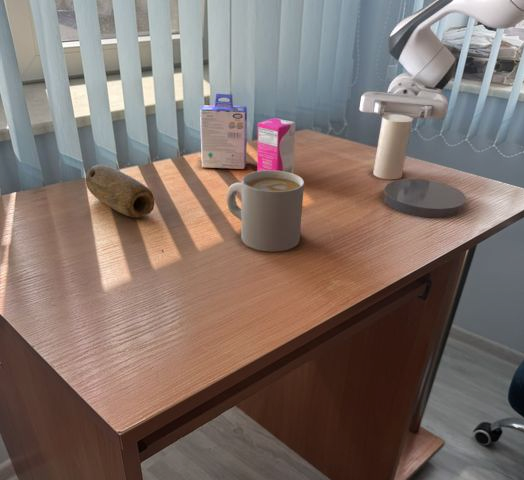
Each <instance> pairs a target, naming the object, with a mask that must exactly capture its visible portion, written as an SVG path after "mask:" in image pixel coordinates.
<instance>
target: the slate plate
mask: <svg viewBox="0 0 524 480" xmlns="http://www.w3.org/2000/svg"><path fill="white" fill-rule="evenodd" d="M382 199H383V201H384V203H385V204H386V205H387V206H389V207H390V208H392V209H394V210H395V211H398V212H401V213H402V214H403V213H404V214H406V215H410V216H415V217H422V218H430V219H431V218H433V219H442V218H443V219H444V218H450V217H454V216H457V215H459V214H461V213H462V212H463V211H464V209H465V206H466V203H467V196H466V195H465V193H463V191H462V190H460V189H458V188H456V187H454V186H452V185H449V184H446V183H443V182H440V181H434V180H430V179H429V180H428V179H423V178H422V179H419V178H404V179H396V180H393V181H390V182H389V183H387V184H386V185H385V186H384V189H383V194H382Z"/></svg>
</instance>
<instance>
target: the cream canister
mask: <svg viewBox="0 0 524 480" xmlns="http://www.w3.org/2000/svg"><path fill="white" fill-rule="evenodd" d="M413 122H414V119H412V118H411V117H408V116H404V115H397V114H388V115H386V114H384V115H382V117H381V123H380V129H379V135H378V141H377V147H376V154H375V160H374V164H373V165H374V166H373V171H372V175H373V176H374V177H377V178H378V179H383V180H400V179H401V178H402V176H403V172H404V168H405V164H406V157H407V152H408V148H409V142H410V137H411V132H412V127H413Z"/></svg>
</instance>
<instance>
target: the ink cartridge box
mask: <svg viewBox="0 0 524 480" xmlns="http://www.w3.org/2000/svg"><path fill="white" fill-rule="evenodd" d="M222 98H223V99H224V98H225V99H227V100H229V101H223V100H222V101H221V100H219V99H222ZM199 122H200V147H201V148H200V150H201V151H200V154H201V168H209V169H211V168H212V169H216V168H217V169H233V170H234V169H236V170H245V167H246V164H247V144H248V143H247V141H248V140H247V139H248V108H247V106H246V105H234V103H233V94H228V93H227V94H225V93H216V94H215V102H214V105H213V104H212V105H211V104H203V105H202V107H201V109H199Z"/></svg>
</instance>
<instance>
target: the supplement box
mask: <svg viewBox="0 0 524 480" xmlns="http://www.w3.org/2000/svg"><path fill="white" fill-rule="evenodd" d="M295 139H296V122H295V121H291V120H285V119H281V118H277V117H273V118H270V119H266V120H262V121H260V122H258V123H257V160H256V161H257V165H256V166H257V167H256V168H257V170H256V171H263V170H277V171H285V172H289V173H293V174H294V166H295V165H294V164H295V163H294V161H295V159H294V158H295V144H296V143H295V142H296V140H295Z"/></svg>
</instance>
